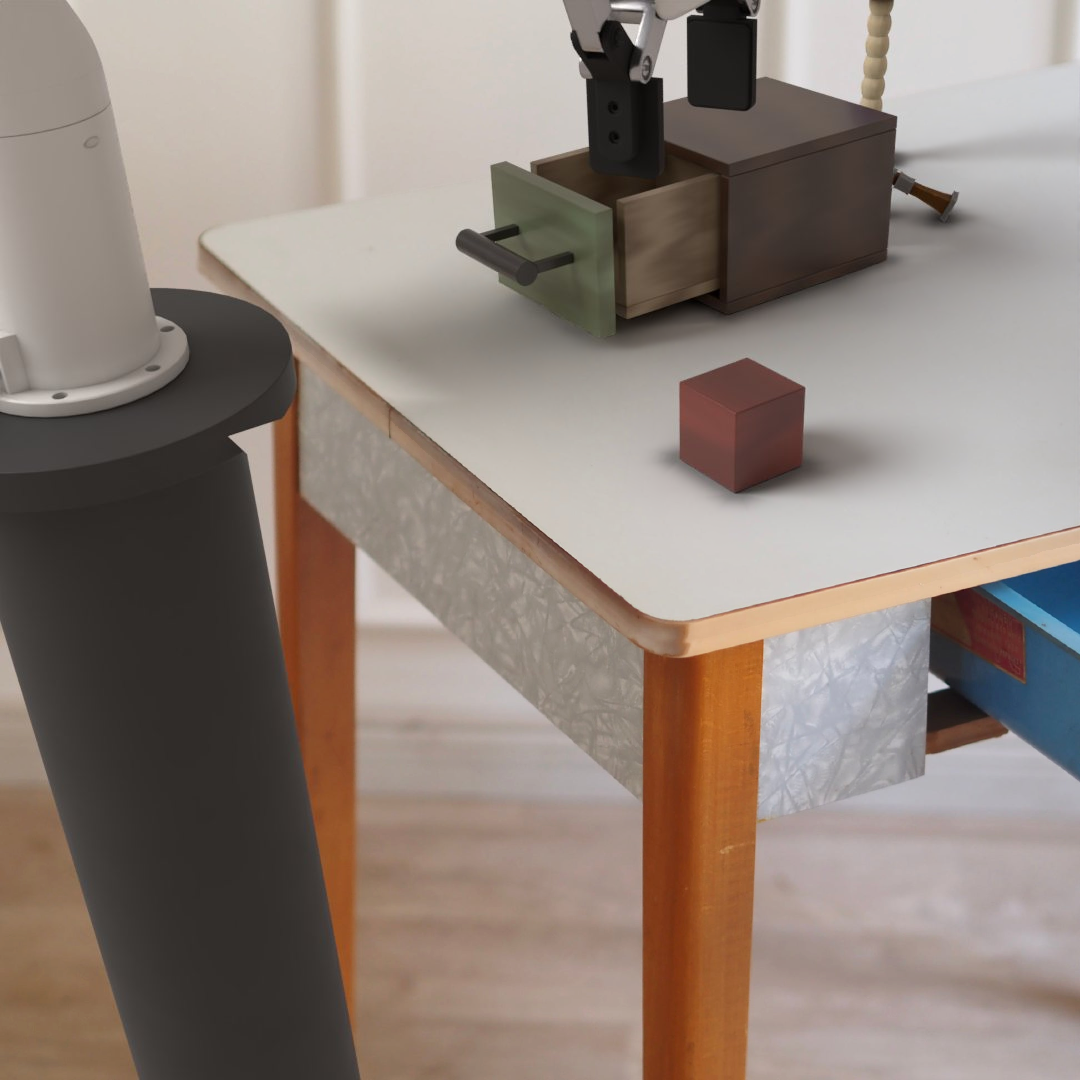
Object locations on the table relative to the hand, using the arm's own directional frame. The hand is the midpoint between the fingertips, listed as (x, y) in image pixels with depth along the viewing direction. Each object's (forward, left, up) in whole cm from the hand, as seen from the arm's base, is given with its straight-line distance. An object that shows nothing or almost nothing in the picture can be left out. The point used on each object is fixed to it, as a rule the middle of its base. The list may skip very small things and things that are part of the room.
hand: (676, 138), depth 65 cm
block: (+4, +1, -18) cm, 19 cm away
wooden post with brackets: (+35, +21, -18) cm, 45 cm away
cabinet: (+22, +22, -18) cm, 36 cm away
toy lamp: (+42, +31, -18) cm, 55 cm away
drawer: (+11, +22, -17) cm, 30 cm away
